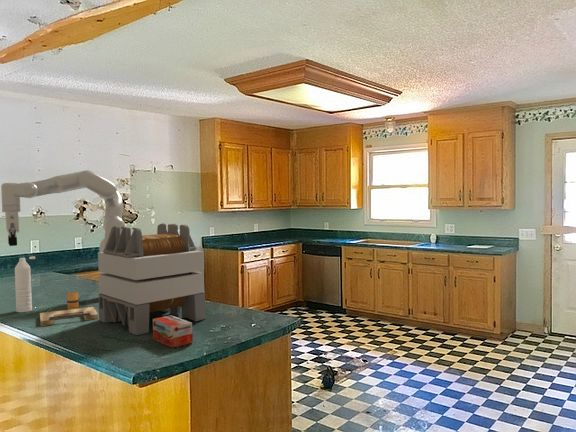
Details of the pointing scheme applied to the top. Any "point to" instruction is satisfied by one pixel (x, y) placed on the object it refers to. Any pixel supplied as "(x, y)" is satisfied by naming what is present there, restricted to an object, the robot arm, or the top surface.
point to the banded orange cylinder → (73, 300)
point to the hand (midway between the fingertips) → (12, 244)
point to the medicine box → (172, 331)
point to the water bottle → (23, 286)
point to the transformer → (150, 276)
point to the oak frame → (67, 315)
